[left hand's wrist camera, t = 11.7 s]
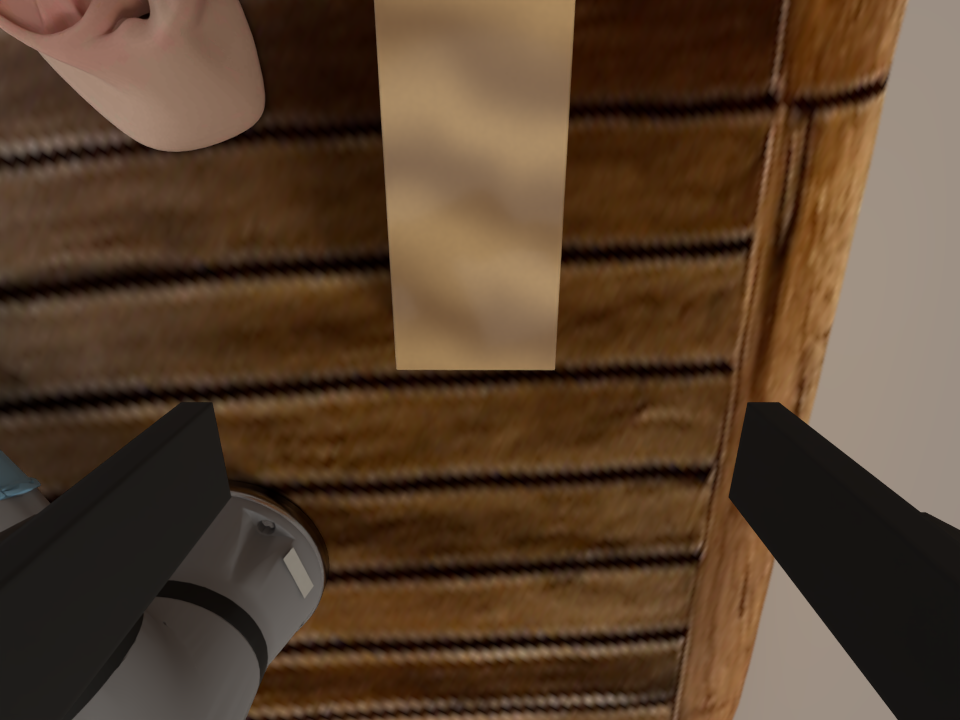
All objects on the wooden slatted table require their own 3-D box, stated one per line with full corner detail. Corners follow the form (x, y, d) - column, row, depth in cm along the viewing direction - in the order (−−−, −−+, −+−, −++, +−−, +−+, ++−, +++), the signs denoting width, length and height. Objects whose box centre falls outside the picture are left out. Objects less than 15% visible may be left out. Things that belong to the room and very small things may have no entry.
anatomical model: (275, 77, 27) (121, 202, 29) (300, 88, 30) (162, 198, 33) (79, -204, 23) (-82, -35, 25) (135, -152, 27) (-10, -9, 29)
